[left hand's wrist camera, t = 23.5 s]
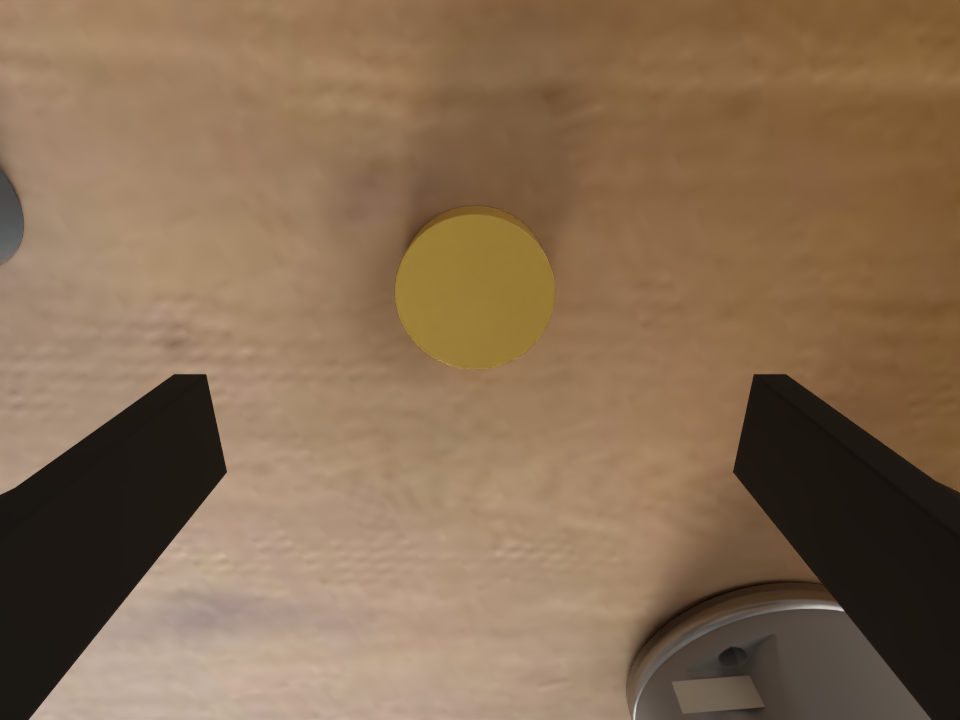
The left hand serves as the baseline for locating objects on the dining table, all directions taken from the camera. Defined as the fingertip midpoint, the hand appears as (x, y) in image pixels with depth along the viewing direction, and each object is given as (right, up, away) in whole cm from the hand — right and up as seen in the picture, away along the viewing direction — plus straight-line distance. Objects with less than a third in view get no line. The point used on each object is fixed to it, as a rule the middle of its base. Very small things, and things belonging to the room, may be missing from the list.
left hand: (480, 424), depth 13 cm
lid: (0, +4, +6) cm, 7 cm away
